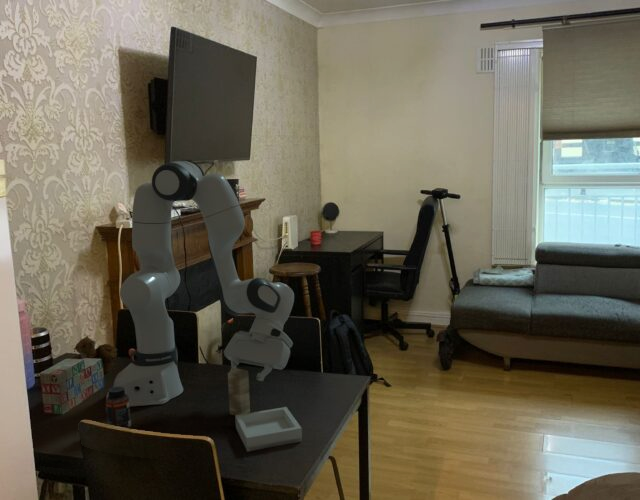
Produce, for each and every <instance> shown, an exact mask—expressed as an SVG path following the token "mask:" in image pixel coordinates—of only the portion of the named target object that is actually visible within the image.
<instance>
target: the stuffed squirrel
mask: <svg viewBox="0 0 640 500" xmlns="http://www.w3.org/2000/svg"><path fill="white" fill-rule="evenodd" d="M95 345H96V341H95V340H93V339H92V338H90V337H89V336H88V335H87V336H84V337H83V338H82V339H80V340H79V341H78V342H77V343H76V344H75V347H74V349H73V350H74V351H73V352H74V353H75V352H76V353H78V355H76V356H75V355H74V356H72V358H71V359H84V358H92V359H93V358H95V359H102V367H103V374H107V373H108V372H109V371H110V370H111V369H113V365H114V362H113V360H114V359H115V358H116V357H117V355H118V352H117V351H118V349H117V348H116V347H114V345H111V344H108V343H104V344H100V345H98V347H96V346H95ZM95 347H96V348H95Z"/></svg>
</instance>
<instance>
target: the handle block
mask: <svg viewBox="0 0 640 500" xmlns="http://www.w3.org/2000/svg"><path fill="white" fill-rule="evenodd" d="M249 379H250V378H249V370H246V369H241V368H236V369H235V370H233V371H231V372H230V371H229V372H227V384H228V401H229V402H228V403H229V404H228V405H229V415H232V416H235V415H240V414H246V413H251V402H250V401H251V400H250V381H249Z"/></svg>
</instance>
